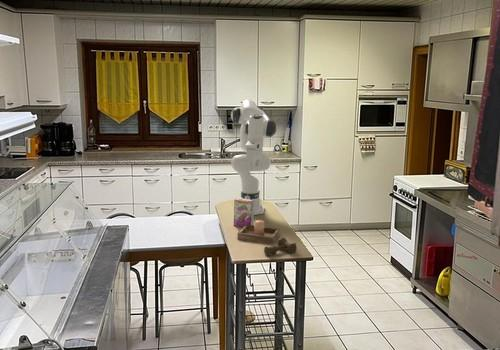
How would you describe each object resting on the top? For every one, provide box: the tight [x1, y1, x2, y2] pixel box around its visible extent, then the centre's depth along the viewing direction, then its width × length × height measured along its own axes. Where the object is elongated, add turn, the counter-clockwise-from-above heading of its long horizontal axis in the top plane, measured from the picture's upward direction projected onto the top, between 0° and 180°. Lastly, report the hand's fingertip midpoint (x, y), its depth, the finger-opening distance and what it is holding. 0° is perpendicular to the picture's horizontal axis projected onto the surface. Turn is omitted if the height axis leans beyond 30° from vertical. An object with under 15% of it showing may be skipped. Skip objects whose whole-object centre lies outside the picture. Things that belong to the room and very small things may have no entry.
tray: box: [236, 224, 281, 245], centre depth 251 cm, size 16×20×4 cm
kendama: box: [263, 237, 298, 257], centre depth 230 cm, size 6×10×20 cm
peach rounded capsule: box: [253, 219, 265, 236], centre depth 250 cm, size 6×6×8 cm
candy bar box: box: [233, 197, 255, 228], centre depth 268 cm, size 11×5×16 cm, turn 71°
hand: (254, 167), depth 256 cm, fingers open, 8 cm apart
